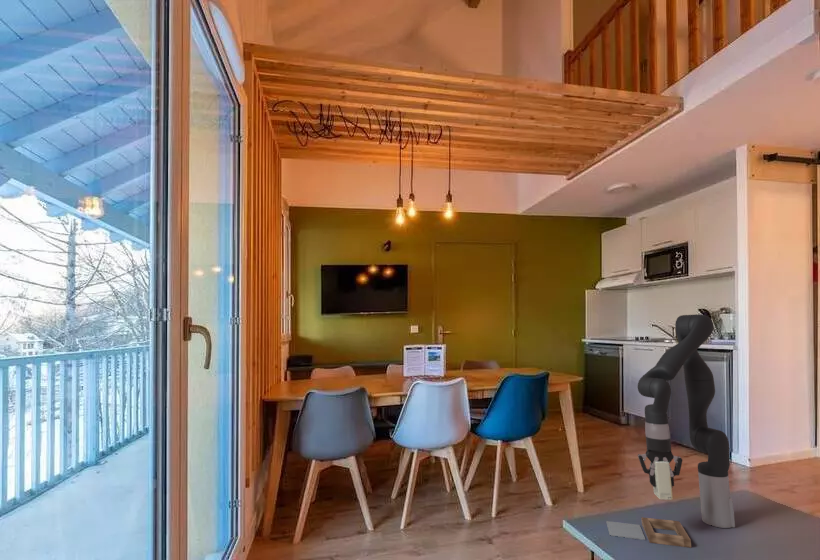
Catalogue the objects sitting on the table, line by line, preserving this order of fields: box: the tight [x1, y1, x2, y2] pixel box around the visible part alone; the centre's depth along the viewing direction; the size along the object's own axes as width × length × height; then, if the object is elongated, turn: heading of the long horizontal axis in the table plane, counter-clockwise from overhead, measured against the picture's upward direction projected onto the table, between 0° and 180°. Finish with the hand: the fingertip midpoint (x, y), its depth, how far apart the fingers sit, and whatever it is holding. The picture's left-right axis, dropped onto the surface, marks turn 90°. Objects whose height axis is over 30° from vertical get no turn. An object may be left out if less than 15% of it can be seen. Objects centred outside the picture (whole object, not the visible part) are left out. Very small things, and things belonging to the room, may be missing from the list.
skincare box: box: [652, 461, 674, 501], centre depth 152 cm, size 6×4×12 cm
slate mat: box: [605, 520, 646, 541], centre depth 154 cm, size 11×11×1 cm
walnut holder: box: [640, 517, 692, 549], centre depth 151 cm, size 12×14×2 cm
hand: (661, 486), depth 152 cm, fingers closed on skincare box, 4 cm apart
